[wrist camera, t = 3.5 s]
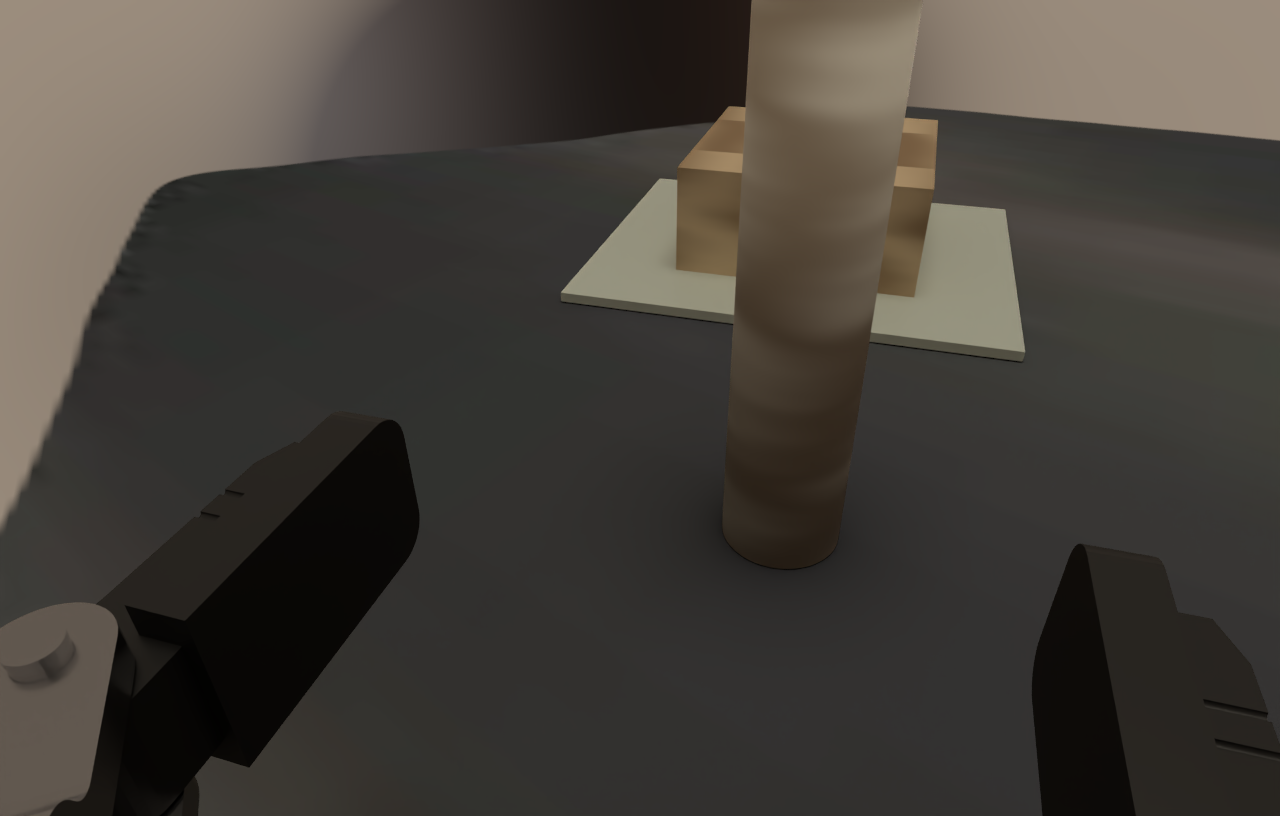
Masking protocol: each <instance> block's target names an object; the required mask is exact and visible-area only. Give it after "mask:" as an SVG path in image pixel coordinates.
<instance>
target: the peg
mask: <svg viewBox="0 0 1280 816" xmlns="http://www.w3.org/2000/svg"><path fill="white" fill-rule="evenodd" d="M922 4H923V0H752V6H751V24H750V41H749V59H748V77H747V94H746V111H745V129H744V146H743V164H742V181H741V199H740V217H739V234H738V252H737V269H736V287H735V305H734V322H733V340H732V357H731V375H730V392H729V410H728V428H727V445H726V463H725V480H724V498H723V516H722V530H723V534H724V537H725V539H726V541H727V542H728V544H729V545H730V546H731V547H732V548H733V549H734V550H735V551H736V552H737V553H738V554H740V555H741V556H743V557H744V558H746V559H748V560H750V561H752V562H754V563H757V564H760V565H763V566H767V567H772V568H779V569H796V568H803V567H807V566H811V565H813V564H816V563H818V562H820V561H822V560H824V559H825V558H826V557H828V556H829V555H830V554H831V553H832V552H833V550H834V549H835V547H836V545H837V542H838V538H839V531H840V525H841V519H842V512H843V506H844V500H845V493H846V487H847V481H848V474H849V468H850V461H851V455H852V449H853V442H854V436H855V430H856V423H857V417H858V411H859V404H860V398H861V392H862V385H863V379H864V373H865V366H866V360H867V354H868V347H869V341H870V335H871V328H872V322H873V315H874V309H875V303H876V296H877V290H878V284H879V277H880V271H881V265H882V258H883V252H884V246H885V239H886V233H887V227H888V220H889V214H890V208H891V201H892V195H893V189H894V182H895V176H896V169H897V163H898V157H899V150H900V144H901V138H902V131H903V125H904V119H905V112H906V106H907V100H908V93H909V87H910V81H911V74H912V68H913V61H914V55H915V49H916V43H917V35H918V30H919V23H920V17H921V11H922Z"/></svg>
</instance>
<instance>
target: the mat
mask: <svg viewBox="0 0 1280 816" xmlns="http://www.w3.org/2000/svg"><path fill="white" fill-rule="evenodd" d="M676 236H677V180H670V179H659V180H658V181H657V183H656V184H655V185H654V186H653V187H652V188H651V189H650V191H649V192H648V193H647V194H646V195H645V196H644V198H643V199H642V200H641V201H640V202H639V203H638V204H637V206H636V207H635V208H634V209H633V210H632V211H631V212H630V214H629V215H628V216H627V217H626V218H625V219H624V220H623V222H622V223H621V224H620V225H619V226H618V227H617V229H616V230H615V231H614V232H613V233H612V234H611V235H610V237H609V238H608V239H607V240H606V241H605V242H604V243H603V245H602V246H601V247H600V248H599V249H598V250H597V252H596V253H595V254H594V255H593V256H592V257H591V258H590V260H589V261H588V262H587V263H586V264H585V265H584V266H583V268H582V269H581V270H580V271H579V272H578V273H577V275H576V276H575V277H574V278H573V279H572V280H571V281H570V283H569V284H568V285H567V286H566V287H565V288H564V289H563V291H562V292H561V301H563V302H570V303H578V304H586V305H593V306H601V307H609V308H616V309H624V310H631V311H639V312H647V313H654V314H662V315H670V316H677V317H685V318H693V319H700V320H708V321H715V322H723V323H731V324H733V322H734V305H735V287H736V277H734V276H725V275H717V274H708V273H700V272H691V271H683V270H676ZM869 342H876V343H884V344H891V345H899V346H906V347H914V348H922V349H929V350H937V351H945V352H952V353H960V354H968V355H975V356H983V357H991V358H998V359H1006V360H1013V361H1021V362H1023V358H1024V354H1025V348H1024V341H1023V333H1022V326H1021V319H1020V312H1019V305H1018V298H1017V291H1016V284H1015V277H1014V269H1013V262H1012V255H1011V248H1010V241H1009V234H1008V227H1007V220H1006V213H1005V210H1004V209H993V208H982V207H971V206H960V205H949V204H937V203H931V209H930V214H929V219H928V225H927V230H926V236H925V241H924V246H923V252H922V257H921V263H920V268H919V274H918V279H917V284H916V290H915V295H914V297H905V296H897V295H888V294H880V293H877V296H876V303H875V309H874V315H873V322H872V328H871V335H870V341H869Z"/></svg>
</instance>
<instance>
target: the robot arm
mask: <svg viewBox="0 0 1280 816" xmlns="http://www.w3.org/2000/svg"><path fill="white" fill-rule="evenodd" d="M418 530H419V508H418V503H417V499H416V494H415V489H414V484H413V479H412V474H411V469H410V464H409V459H408V454H407V449H406V444H405V439H404V435H403V431H402V429H401V427H400V426H399V424H398V423H397V422H395V421H393V420H389V419H384V418H378V417H372V416H367V415H361V414H355V413H350V412H344V411H339V412H335V413H333V414H331V415H330V416H328V417H327V418H326V419H325V420H324V421H323V422H322V423H321V424H320V425H318V426H317V427H316V428H315V429H314V430H313V431H312V432H311V433H310V434H309V435H308V436H307V437H305V438H304V439H303V440H302V441H301V442H300V443H296V442H294V443H292V444H290V445H288V446H286V447H284V448H282V449H281V450H279V451H277V452H275V453H273V454H271V455H269V456H267V457H265V458H263V459H261V460H259V461H257V462H256V463H254V464H253V465H252V466H251V467H250V468H249V469H247V470H246V471H245V472H244V473H243V474H242V475H241V476H240V477H239V478H237V479H236V480H235V481H234V482H233V483H232V484H231V485H230V486H228V487H227V488H226V489H225V494H224V495H218V496H217V497H216V498H215V499H214V500H213V501H212V502H211V503H209V504H208V505H207V506H206V507H205V508H204V509H203V510H202V511H201V515H200V517H199V518H197V517H194V518H193V519H192V520H190V521H189V522H188V523H187V524H186V525H185V526H184V527H183V528H181V529H180V530H179V531H178V532H177V533H176V534H175V535H174V536H172V537H171V538H170V539H169V540H168V541H167V542H166V543H165V544H164V545H162V546H161V547H160V548H159V549H158V550H157V551H156V552H155V553H153V554H152V555H151V556H150V557H149V558H148V559H147V560H146V561H144V562H143V563H142V564H141V565H140V566H139V567H138V568H137V569H136V570H134V571H133V572H132V573H131V574H130V575H129V576H128V577H127V578H125V579H124V580H123V581H122V582H121V583H120V584H119V585H118V586H116V587H115V588H114V589H113V590H112V591H111V592H110V593H109V594H108V595H106V596H105V597H104V598H103V599H102V600H101V601H99V602H98V603H97V604H96V605H95V604H91V603H79V602H77V603H65V604H59V605H54V606H50V607H46V608H43V609H39V610H37V611H34V612H31V613H29V614H26V615H24V616H22V617H20V618H18V619H16V620H14V621H12V622H10V623H8V624H7V625H5V626H3V627H2V628H0V816H198V807H199V786H198V783H197V780H196V778H195V775H196V774H197V772H198V771H199V770H200V769H201V767H202V766H203V765H204V764H205V763H206V761H207V760H208V759H209V758H210V756H213V757H216V758H220V759H223V760H226V761H230V762H233V763H236V764H239V765H243V766H246V767H250V766H251V765H252V763H253V762H254V761H255V759H256V758H257V757H258V755H259V754H260V753H261V751H262V750H263V749H264V747H265V746H266V745H267V744H268V742H269V741H270V740H271V738H272V737H273V736H274V734H275V733H276V732H277V730H278V729H279V728H280V726H281V725H282V724H283V722H284V721H285V720H286V718H287V717H288V716H289V715H290V713H291V712H292V711H293V709H294V708H295V707H296V705H297V704H298V703H299V701H300V700H301V699H302V697H303V696H304V695H305V693H306V692H307V691H308V689H309V688H310V687H311V686H312V684H313V683H314V682H315V680H316V679H317V678H318V676H319V675H320V674H321V672H322V671H323V670H324V668H325V667H326V666H327V664H328V663H329V662H330V660H331V659H332V658H333V656H334V655H335V654H336V653H337V651H338V650H339V649H340V647H341V646H342V645H343V643H344V642H345V641H346V639H347V638H348V637H349V635H350V634H351V633H352V631H353V630H354V629H355V627H356V626H357V625H358V624H359V622H360V621H361V620H362V618H363V617H364V616H365V614H366V613H367V612H368V610H369V609H370V608H371V606H372V605H373V604H374V602H375V601H376V600H377V598H378V597H379V596H380V595H381V593H382V592H383V591H384V589H385V588H386V587H387V585H388V584H389V583H390V581H391V580H392V579H393V577H394V576H395V575H396V573H397V572H398V571H399V569H400V568H401V567H402V566H403V564H404V563H405V562H406V560H407V559H408V557H409V555H410V554H411V552H412V550H413V547H414V545H415V542H416V539H417V535H418ZM1032 704H1033V715H1034V726H1035V737H1036V748H1037V759H1038V770H1039V781H1040V792H1041V803H1042V814H1043V816H1280V744H1279V741H1278V738H1277V736H1276V733H1275V730H1274V727H1273V724H1272V722H1268V721H1267V715H1268V711H1267V708H1266V705H1265V702H1264V699H1263V697H1262V694H1261V691H1260V688H1259V686H1258V683H1257V680H1256V677H1255V674H1254V672H1253V669H1252V666H1251V664H1250V663H1249V662H1248V660H1247V659H1246V658H1245V657H1244V656H1243V655H1242V653H1241V652H1240V651H1239V650H1238V649H1237V647H1236V646H1235V645H1234V644H1233V643H1232V642H1231V640H1230V639H1229V638H1228V637H1227V636H1226V635H1225V633H1224V632H1223V631H1222V630H1221V629H1220V627H1219V626H1218V625H1217V624H1216V623H1215V622H1214V620H1213V619H1210V618H1204V617H1199V616H1194V615H1189V614H1183V613H1178V612H1177V608H1176V605H1175V601H1174V598H1173V594H1172V591H1171V587H1170V584H1169V581H1168V577H1167V574H1166V570H1165V568H1164V565H1163V563H1162V561H1161V560H1160V559H1159V558H1157V557H1153V556H1147V555H1141V554H1136V553H1130V552H1124V551H1119V550H1113V549H1107V548H1102V547H1096V546H1090V545H1085V544H1078V545H1076V546H1075V548H1074V549H1073V551H1072V552H1071V554H1070V557H1069V559H1068V562H1067V565H1066V567H1065V570H1064V573H1063V576H1062V579H1061V581H1060V584H1059V587H1058V590H1057V592H1056V595H1055V598H1054V601H1053V603H1052V606H1051V609H1050V612H1049V615H1048V617H1047V620H1046V623H1045V626H1044V628H1043V631H1042V634H1041V637H1040V640H1039V643H1038V646H1037V650H1036V655H1035V660H1034V667H1033V677H1032Z"/></svg>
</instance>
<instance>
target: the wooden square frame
mask: <svg viewBox="0 0 1280 816" xmlns="http://www.w3.org/2000/svg"><path fill="white" fill-rule="evenodd" d="M745 111H746V108H745V107H728V108H727V109H726V111H725V112H724V113H723V114H722V116H721V117H720V118H719V119H718V120H717V121H716V122H715V124H714V125H713V126H712V127H711V128H710V130H709V131H708V132H707V133H706V134H705V135H704V137H703V138H702V139H701V140H700V141H699V143H698V144H697V145H696V146H695V147H694V148H693V150H692V151H691V152H690V153H689V154H688V156H687V157H686V158H685V159H684V160H683V161H682V163H681V164H680V165H679V166H678V168H677V236H676V270H683V271H691V272H700V273H708V274H717V275H725V276H734V277H736V269H737V252H738V234H739V217H740V199H741V181H742V164H743V146H744V129H745ZM937 127H938V120H925V119H910V118H905V119H904V125H903V131H902V138H901V144H900V150H899V157H898V163H897V169H896V176H895V182H894V189H893V195H892V201H891V208H890V214H889V220H888V227H887V233H886V239H885V246H884V252H883V258H882V265H881V271H880V277H879V284H878V290H877V293H880V294H888V295H897V296H905V297H914V295H915V290H916V284H917V279H918V274H919V268H920V263H921V257H922V252H923V246H924V241H925V236H926V230H927V225H928V219H929V214H930V209H931V203H932V198H933V192H934V181H935V163H936V145H937Z"/></svg>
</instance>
